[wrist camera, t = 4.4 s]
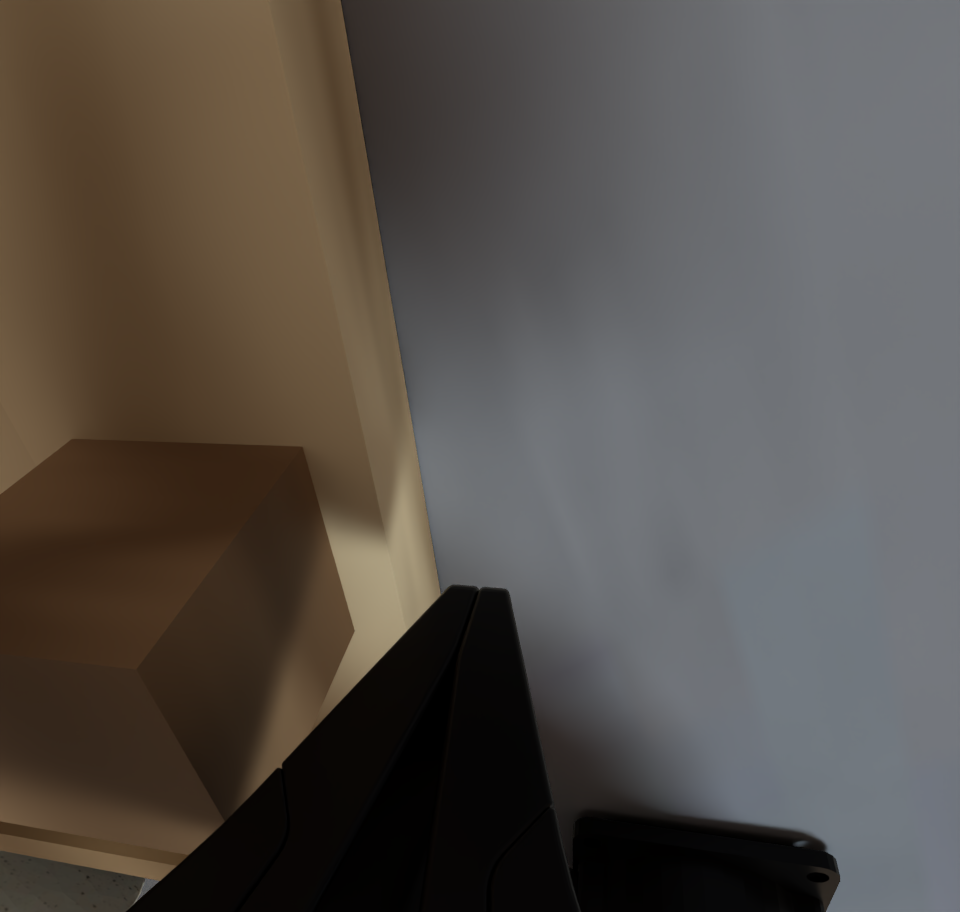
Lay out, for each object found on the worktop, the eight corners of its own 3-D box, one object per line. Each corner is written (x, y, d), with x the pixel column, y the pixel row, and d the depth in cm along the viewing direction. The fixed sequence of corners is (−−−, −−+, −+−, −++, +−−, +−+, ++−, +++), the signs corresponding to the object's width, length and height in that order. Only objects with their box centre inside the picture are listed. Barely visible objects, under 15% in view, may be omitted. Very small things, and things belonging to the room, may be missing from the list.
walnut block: (302, 446, 10) (135, 670, 6) (354, 631, 12) (250, 866, 9) (71, 439, 10) (-179, 633, 7) (161, 612, 13) (-1, 820, 9)
